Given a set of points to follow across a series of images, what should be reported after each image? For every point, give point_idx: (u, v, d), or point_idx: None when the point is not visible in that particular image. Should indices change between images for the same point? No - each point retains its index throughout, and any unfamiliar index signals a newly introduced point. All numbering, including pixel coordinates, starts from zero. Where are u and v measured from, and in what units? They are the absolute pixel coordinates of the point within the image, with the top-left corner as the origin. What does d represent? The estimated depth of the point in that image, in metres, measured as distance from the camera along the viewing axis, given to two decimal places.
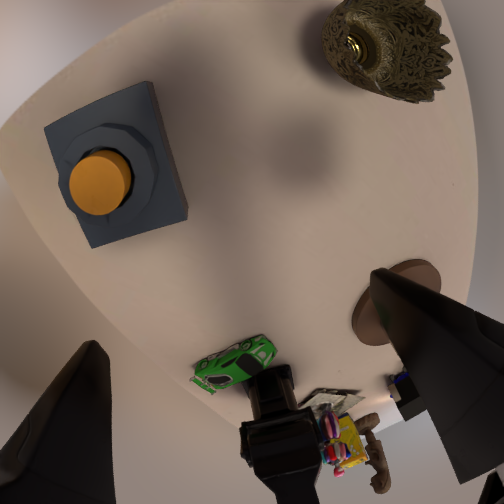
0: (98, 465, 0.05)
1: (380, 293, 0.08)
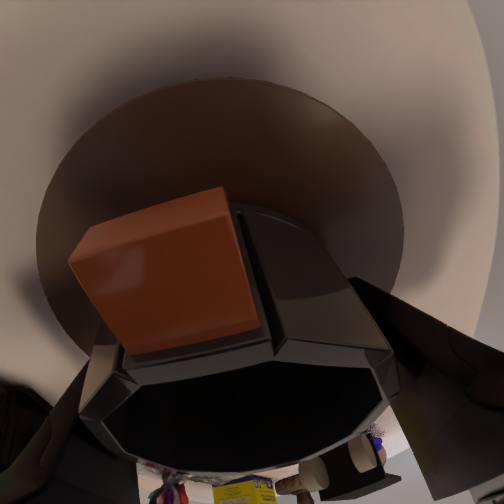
0: (122, 466, 0.05)
1: None
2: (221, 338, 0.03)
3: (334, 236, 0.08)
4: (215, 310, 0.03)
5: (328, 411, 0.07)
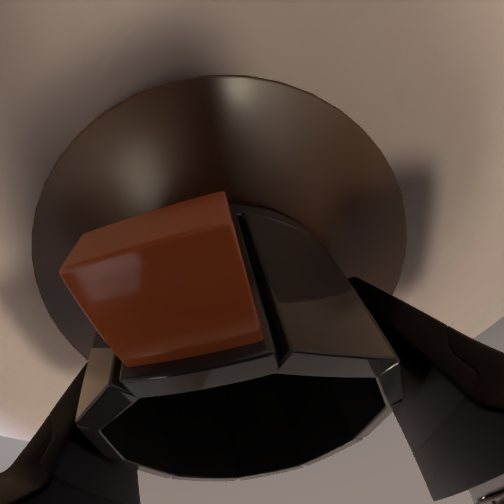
0: (123, 466, 0.05)
1: None
2: (222, 350, 0.03)
3: None
4: (216, 323, 0.03)
5: (329, 416, 0.07)
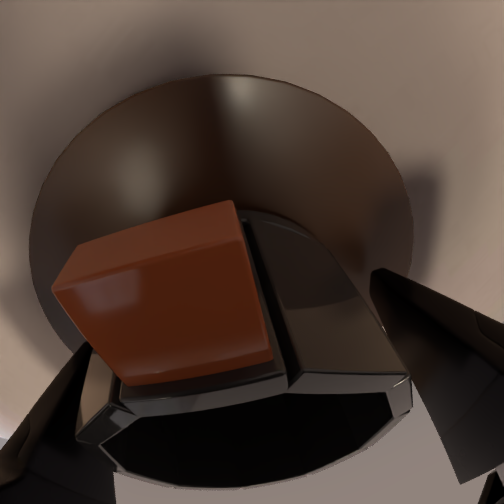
0: (98, 465, 0.05)
1: (380, 293, 0.08)
2: (229, 371, 0.03)
3: None
4: (223, 344, 0.03)
5: (335, 426, 0.07)
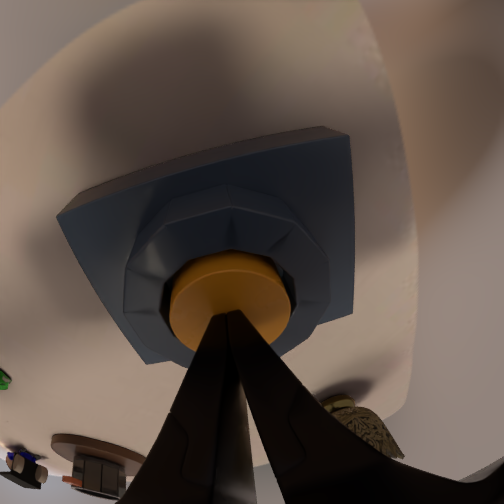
0: (246, 458, 0.05)
1: None
2: (78, 486, 0.17)
3: None
4: (76, 485, 0.17)
5: None
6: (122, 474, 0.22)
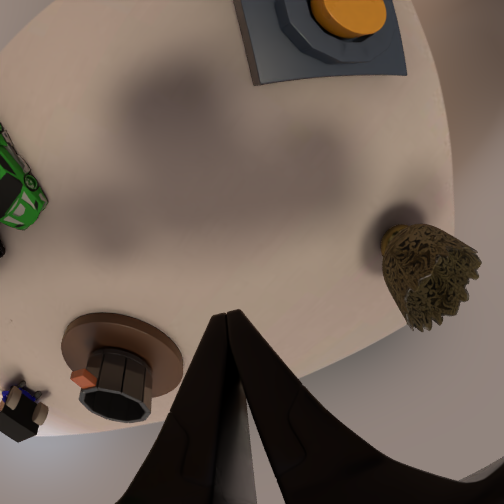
0: (246, 459, 0.05)
1: None
2: (91, 386, 0.19)
3: None
4: (88, 383, 0.18)
5: None
6: (149, 376, 0.24)
